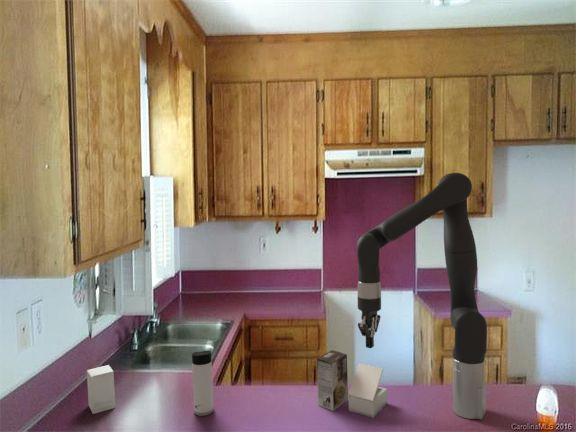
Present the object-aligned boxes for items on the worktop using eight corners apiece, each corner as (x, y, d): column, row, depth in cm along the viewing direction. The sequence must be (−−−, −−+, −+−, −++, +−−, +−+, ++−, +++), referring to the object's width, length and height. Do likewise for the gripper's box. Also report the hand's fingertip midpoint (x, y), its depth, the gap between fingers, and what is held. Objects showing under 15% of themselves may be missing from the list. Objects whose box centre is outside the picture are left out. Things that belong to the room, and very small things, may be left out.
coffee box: (332, 395, 153) (331, 349, 152) (348, 400, 149) (347, 353, 148) (317, 405, 146) (316, 357, 145) (333, 411, 142) (332, 362, 141)
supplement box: (116, 407, 148) (114, 371, 147) (92, 414, 144) (90, 377, 143) (111, 399, 154) (109, 364, 153) (88, 405, 150) (86, 369, 149)
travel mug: (195, 418, 140) (192, 356, 139) (193, 408, 146) (190, 349, 145) (214, 414, 142) (212, 353, 140) (212, 405, 148) (210, 346, 147)
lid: (383, 369, 143) (382, 368, 143) (373, 401, 136) (372, 400, 136) (359, 364, 148) (358, 363, 147) (348, 394, 141) (347, 393, 141)
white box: (387, 403, 146) (386, 388, 146) (373, 418, 137) (373, 402, 137) (363, 396, 151) (363, 382, 150) (348, 410, 142) (348, 395, 141)
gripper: (371, 301, 135) (372, 356, 137) (388, 292, 146) (388, 343, 147) (349, 297, 140) (350, 351, 141) (367, 289, 151) (367, 339, 152)
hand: (369, 347), depth 144 cm, fingers closed
